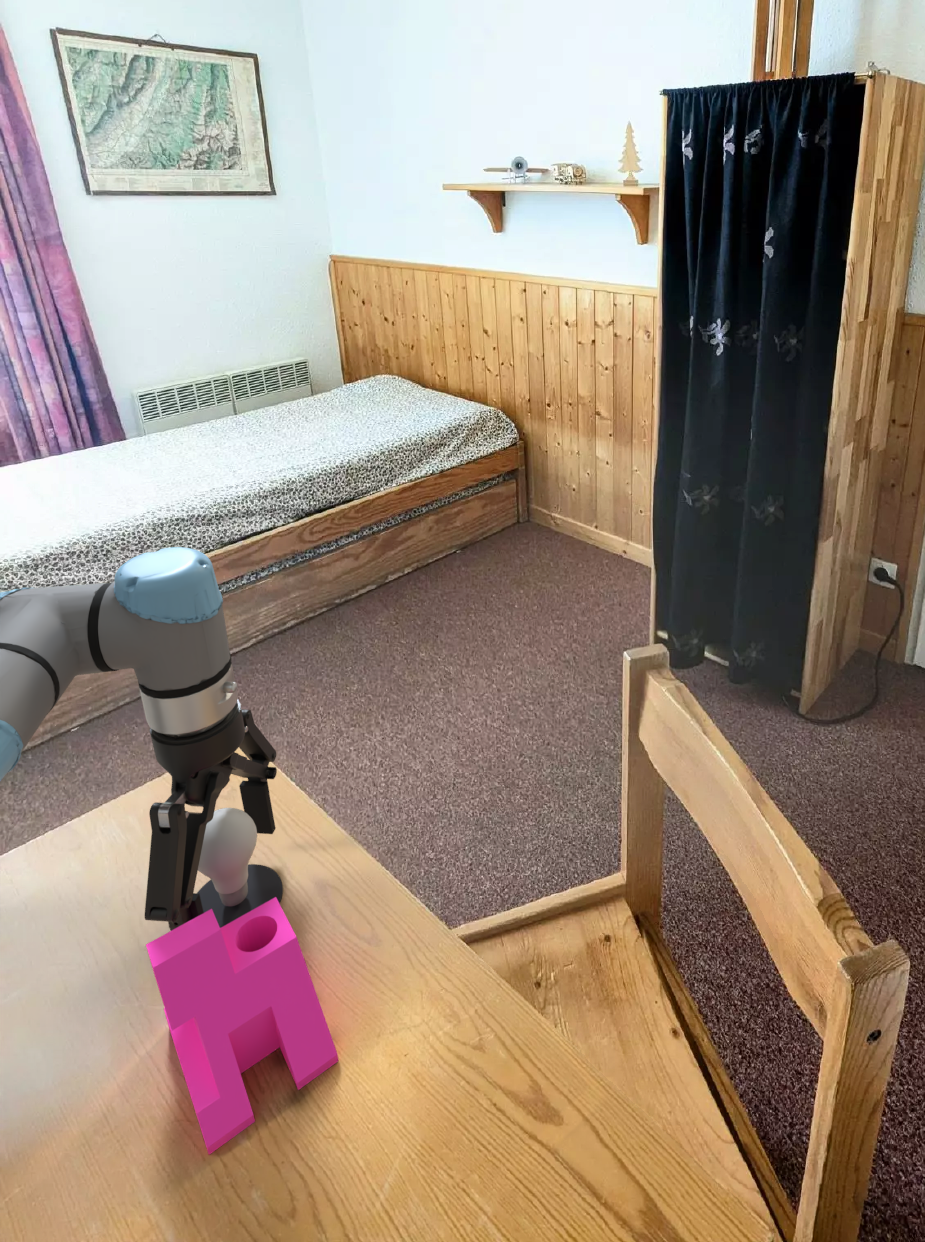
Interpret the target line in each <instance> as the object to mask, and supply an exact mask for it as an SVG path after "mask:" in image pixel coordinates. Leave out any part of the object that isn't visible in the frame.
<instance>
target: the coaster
mask: <svg viewBox="0 0 925 1242" xmlns="http://www.w3.org/2000/svg"><path fill="white" fill-rule="evenodd" d="M247 886H248V894H247V896H246V898H245V899H244V900H243V901H242V902H241V903H240V904H238V905H235V906H225V905H224V904H223V903H222V901H221V899H220V895H219V892H217V891H216V889H215V887H214V884H213V882H212V880H211V879H210V880H208V881H207V882H206V883H205V884H203V886H202V887H201V888H199V890H198V891H197V892H196V893H199V894H200V899H201V903H202V907H203V912H204V913H205V912H207V911H208V910H210V909H212V910H213V913H214V915H215V917H216V920H217V922H218V925H219V927H220V928H221V927H223V926H225V925H227V924H228V923H230V922H232V921H234V920H236V919H237V918H239V917H241V916H243V915H245V914H246V913H248V912H250V911H252V910H253V909H255V908H257V907H259V906H261V905H262V904H264V903H266V902H268V901H269V900H271V899H273V898H275V897H276V898H277V900H278V902H279V904H280V905H281V902H282V899H283V893H284V888H283V886H284V885H283V882H282V879H281V877H280V875H279V874H278V872H276V871H275V869H273V868H271V867H269V866H267V865H263V864H255V863H254V864H253V863H248V879H247Z"/></svg>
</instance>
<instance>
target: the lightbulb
mask: <svg viewBox="0 0 925 1242" xmlns="http://www.w3.org/2000/svg"><path fill="white" fill-rule="evenodd" d="M257 842H258V833H257V829H256V826H255V823H254V821H253V819H252V818H251V817H250V816H249V815H248V814H247V813H245V812H244V810H242V809H240V808H236V807H222V808H219V809H215V810H214V816H213V819H212V820H211V821H210V822H208V823H207V825H206V830H205V835H204V840H203V845H202V850H201V856H200V861H199V866H198V871H197V872H199V873H201V874H202V875H204V876H205V877H207V878H208V879H210V880H212V882H213V884H214V887H215V889H216V891H217V892H219V895H220V899H221V901H222V903H223V904H224V905H225V906H235V905H238V904H240V903H241V902H242V901H243V900H244V899H245V898H246V896H247V894H248V886H247V879H248V865H249V864H250V863H249V862H250V860H251V858H252V856H253V853H254V851H255V849H256V846H257Z"/></svg>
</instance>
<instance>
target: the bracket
mask: <svg viewBox="0 0 925 1242" xmlns="http://www.w3.org/2000/svg"><path fill="white" fill-rule="evenodd" d="M145 947H146V951H147V955H148V958H149V961H150V965H151V968H152V969H151V970H152V972H153V976H154V979H155V981H156V985H157V988H158V991H159V996H160V998H161V1000H162V1004H163V1007H164V1008H163V1011H164V1015H165V1019H166V1023H167V1026H168V1030H169V1033H170V1036H171V1039H172V1043H173V1045H174V1048H175V1052H176V1055H177V1058H178V1061H179V1064H180V1067H181V1071H182V1074H183V1077H184V1080H185V1084H186V1086H187V1090H188V1094H189V1096H190V1100H191V1103H192V1106H193V1109H194V1112H195V1116H196V1119H197V1121H198V1125H199V1128H200V1131H201V1134H202V1137H203V1141H204V1144H205V1147H206V1151H207V1154H208V1156H210V1155H211V1154H212V1153H214V1152H215V1151H216V1150H218V1149H219V1148H221V1147H222V1146H224V1145H225V1144H227V1143H228V1142H229V1141H231V1140H232V1139H233V1138H234V1137H236V1136H237V1135H239V1134H240V1133H242V1132H244V1131H245V1130H246V1129H247V1128H249V1127H251V1125H252V1124H254V1123H256V1119H255V1116H254V1112H253V1108H252V1106H251V1102H250V1099H249V1095H248V1093H247V1089H246V1087H245V1083H244V1080H243V1077H242V1074H243V1073H244V1072H246V1071H247V1070H249V1069H250V1068H252V1067H253V1066H255V1065H256V1064H257V1063H259V1062H261V1060H263V1059H265V1058H266V1057H268V1056H269V1055H270V1054H273V1052H275V1051H276V1050H278V1049H280V1052H281V1054H282V1056H283V1059H284V1061H285V1062H286V1065H287V1067H288V1070H289V1072H290V1075H291V1077H292V1079H293V1081H294V1084H295V1086H296V1088H297V1091H299V1090H301V1089H303V1087H305V1086H307V1085H308V1084H309V1083H310V1082H312V1081H313V1080H315V1079H316V1078H317V1077H319V1076H321V1075H322V1074H323V1073H324V1072H326V1071H327V1070H329V1069H330V1068H332V1066H334V1065H336V1064H337V1063H338V1062H339V1054H338V1052H337V1048H336V1046H335V1043H334V1040H333V1037H332V1034H331V1031H330V1028H329V1026H328V1023H327V1021H326V1017H325V1013H324V1011H323V1008H322V1005H321V1003H320V1000H319V997H318V994H317V991H316V988H315V986H314V982H313V980H312V976H311V974H310V971H309V969H308V966H307V963H306V960H305V957H304V954H303V952H302V951H303V950H302V948H301V946H300V942H299V940H298V937H297V935H296V933H295V931H294V929H293V926H292V925H291V923H290V921H289V920H288V917H287V916H286V913H285V912H284V909H283V908H282V905H281V903H280V904H279V902H278V900H277V898H276V897H275V898H273V899H271V900H269V901H268V902H266V903H264V904H262V905H261V906H259V907H257V908H255V909H253V910H252V911H250V912H248V913H246V914H245V915H243V916H241V917H239V918H237V919H236V920H234V921H232V922H230V923H228V924H227V925H225V926H223V927H221V928H220V927H219V925H218V922H217V920H216V917H215V915H214V913H213V910H212V909H210V910H208V911H207V912H205V913H203V914H201V915H199V916H197V917H196V918H194V919H192V920H190V921H188V922H186V923H185V924H183V925H181V926H179V927H177V928H175V929H174V930H172V931H168V932H165V934H162V935H161V936H159V937H157V938H155V939H154V940H151V941H150V942H148V943H146V944H145Z"/></svg>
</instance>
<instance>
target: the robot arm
mask: <svg viewBox="0 0 925 1242" xmlns="http://www.w3.org/2000/svg"><path fill="white" fill-rule="evenodd" d="M113 580H114V581H113V582H103V583H89V584H88V583H86V584H74V585H59V586H48V587H47V586H44V587H29V586H27V587H21V588H15V589H11V590H8V591H0V782H1V781H2V780H3V779H4V777H5V776H6V775H7V774H8V773H10V772H11V771H13V770H14V768H15V767H16V766H17V764H18V763H19V762H20V759H21V756H22V752H23V751H24V750H25V748H26V747H27V745H28V744H29V742H30V741H31V739H32V738H33V737H34V735H35V733H36V732H37V730H38V729H39V727H40V726H41V724H42V723H43V721H44V720H45V719H46V717H47V716H48V715H49V713H50V712H51V711H52V710H53V709H54V707H55V706H56V704H57V703H58V702H59V700H60V699H61V698H62V696H63V695H64V693H65V692H66V690H67V689H68V687H69V686H70V685H71V684H72V682H73V680H74V679H75V677H77V676H83V675H91V674H92V675H93V674H99V673H100V674H101V673H108V672H117V671H119V670H127V669H133V671H134V674H135V676H136V679H137V683H138V689H139V694H140V699H141V702H142V708H143V712H144V717H145V721H146V723H147V725H148V726H149V734H150V739H151V742H152V747H153V752H154V756H155V760H156V762H157V763H158V764H159V765H160V767H162V769H164V770H165V771H166V772H167V773H168V774H169V775H170V777H171V788H170V789H171V790H170V794H171V795H170V796H168V798H167V799H166V800H165V801H164V802H153V803H152V804H151V806H150V809H149V822H150V828H151V838H150V848H149V849H150V850H149V859H148V860H149V861H148V872H147V882H146V894H145V903H144V904H145V905H144V920H145V921H153V922H167V923H168V927H169V930H170V931H172V930H174V929H175V928H177V927H179V926H181V925H183V924H185V923H186V922H188V921H190V920H192V919H194V918H196V917H197V916H199V915H201V914H203V913H204V912H203V907H202V903H201V899H200V894H199V893H197V892H195V893H194V891H195V887H196V883H197V882H196V881H197V876H198V872H199V871H198V866H199V861H200V856H201V850H202V845H203V840H204V835H205V830H206V825H207V823H208V822H210V821H211V820H212V819H213V816H214V811H216V806H217V805H216V804H217V800H218V799H219V796H220V794H221V792H222V790H223V789H225V788H226V787H227V785H228V784H229V783H230V781H231V779H230V777H231V775H232V776H236V777H239V778H243V779H247V780H242V781H241V782H240V784H239V785H238V787H239V792H240V798H241V802H242V808H243V811H244V812H245V813H247V814H248V815H249V816H250V817H251V818H252V819H253V821H254V823H255V826H256V829H257V834H260V835H261V834H262V835H263V834H264V835H273V834H274V833H275V831H276V824H275V817H274V813H273V806H272V801H271V796H270V789H269V783H268V780H274V779H275V778H276V777H277V774H278V773H277V771H278V769H277V767H276V766H269V764H270V763H274V762H275V761H276V759H277V751H276V749H275V748H274V746H273V745H272V744H271V743H270V741H269V740H268V739H267V738H266V737H265V735H264V734H263V732H262V731H261V730H260V729H259V727H258V726H257V725H256V723H255V720H254V716H253V713H252V710H251V709H246V708H245V709H242V706H241V702H240V700H239V693H238V683H237V682H236V678H235V673H234V668H233V662H232V654H231V651H230V644H229V637H228V631H227V626H226V625H227V624H226V618H225V612H224V607H223V603H224V599H223V595H222V593H221V590H220V589H219V585H218V580H217V576H216V573H215V570H214V566H213V562H212V561H211V559H210V558H209V557H208V556H207V555H206V554H205V553H204V552H202V551H200V550H198V549H194V548H190V547H183V546H182V547H181V546H177V547H176V546H173V547H163V548H161V549H158V550H156V551H148V552H143V553H139V554H137V555H136V556H134V557H131V558H130V559H128V560H127V561H126V562H124V563H123V564H122V565H120V567H119V568H118V569H117V570H116V572H115V575H114V579H113ZM238 749H240V750H241V752H242V753H243V754H244V755H245V756H244V755H242V754H240V753H238V752H237V750H238ZM185 805H186V806H187V805H188V806H190V807H197V808H198V807H199V808H202V811H201V812H196V811H195V812H194V811H189V810H186V807H185ZM170 931H169V932H170Z"/></svg>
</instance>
